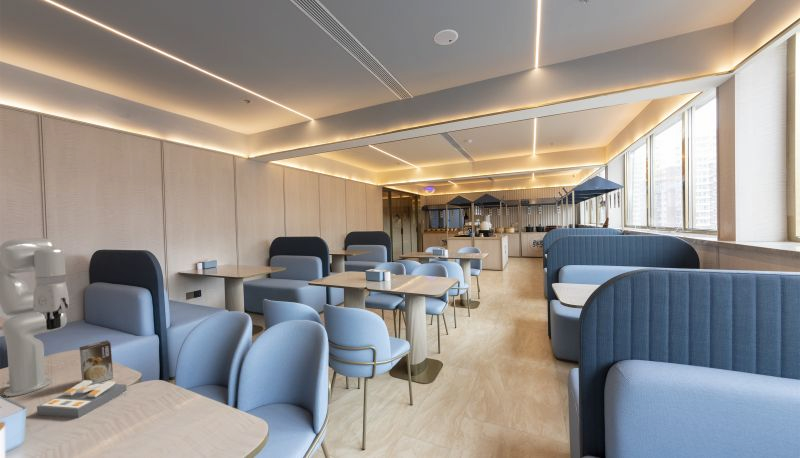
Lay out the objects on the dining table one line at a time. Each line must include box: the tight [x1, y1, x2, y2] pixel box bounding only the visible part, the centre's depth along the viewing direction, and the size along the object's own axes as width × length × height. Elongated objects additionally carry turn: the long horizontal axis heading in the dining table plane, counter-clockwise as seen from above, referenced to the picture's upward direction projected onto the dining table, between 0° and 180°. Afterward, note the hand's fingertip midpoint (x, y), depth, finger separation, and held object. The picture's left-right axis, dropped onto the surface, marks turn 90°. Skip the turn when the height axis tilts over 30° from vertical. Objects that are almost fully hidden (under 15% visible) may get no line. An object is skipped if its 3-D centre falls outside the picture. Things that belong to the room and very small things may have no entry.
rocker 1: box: [62, 380, 92, 395], centre depth 116 cm, size 4×7×1 cm, turn 172°
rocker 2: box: [76, 384, 102, 393], centre depth 116 cm, size 4×7×1 cm, turn 172°
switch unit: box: [36, 382, 128, 419], centre depth 113 cm, size 18×16×4 cm
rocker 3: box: [87, 380, 116, 397], centre depth 114 cm, size 4×7×1 cm, turn 172°
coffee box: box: [79, 340, 114, 383], centre depth 130 cm, size 9×6×16 cm
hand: (53, 328), depth 113 cm, fingers closed
